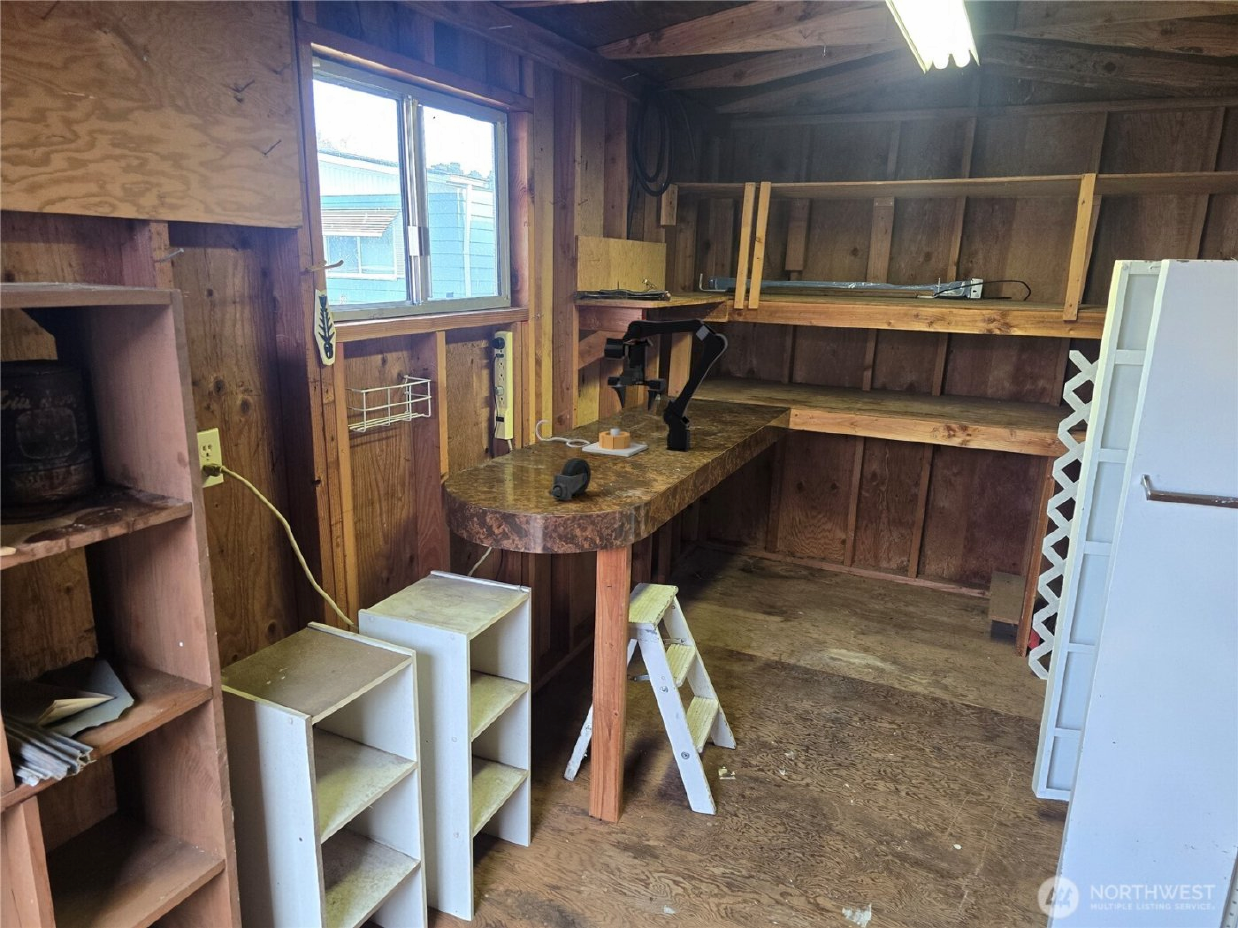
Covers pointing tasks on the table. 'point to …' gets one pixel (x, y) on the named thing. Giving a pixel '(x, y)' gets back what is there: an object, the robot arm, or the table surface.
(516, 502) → the table surface
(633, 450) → the post board
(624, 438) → the wooden bowl
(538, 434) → the hook
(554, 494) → the caster wheel
